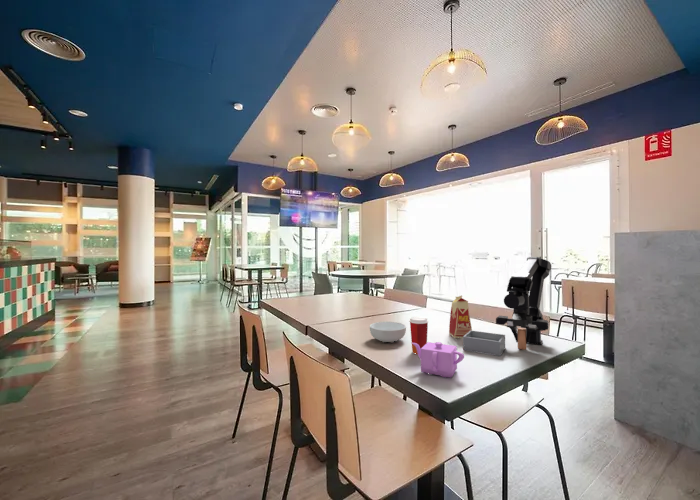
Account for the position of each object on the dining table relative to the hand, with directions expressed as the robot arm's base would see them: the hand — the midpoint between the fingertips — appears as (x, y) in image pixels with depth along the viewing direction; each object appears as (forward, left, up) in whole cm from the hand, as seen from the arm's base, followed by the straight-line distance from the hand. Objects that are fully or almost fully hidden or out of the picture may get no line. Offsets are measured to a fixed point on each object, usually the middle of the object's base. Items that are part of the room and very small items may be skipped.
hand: (522, 342), depth 124 cm
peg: (0, 0, -2) cm, 2 cm away
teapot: (+42, -21, -3) cm, 47 cm away
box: (+8, -13, -3) cm, 15 cm away
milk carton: (-7, -27, -3) cm, 28 cm away
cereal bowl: (+19, -53, -3) cm, 56 cm away
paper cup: (+27, -34, -3) cm, 44 cm away
